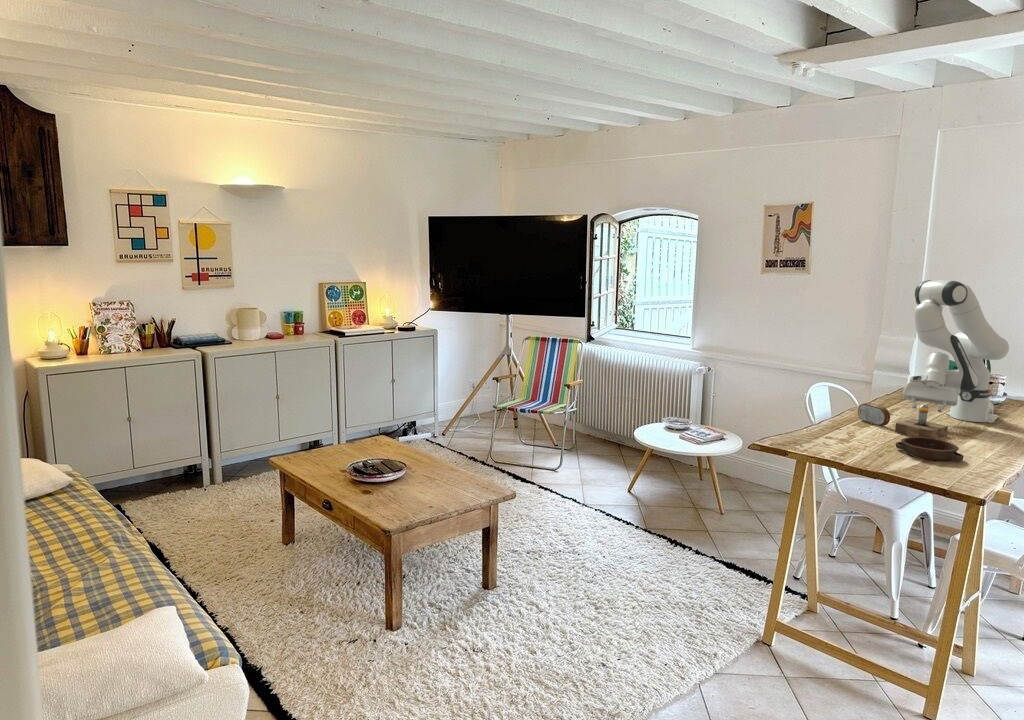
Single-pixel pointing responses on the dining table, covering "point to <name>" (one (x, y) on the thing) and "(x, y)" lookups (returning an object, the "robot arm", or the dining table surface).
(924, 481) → the dining table surface
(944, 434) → the brown square frame
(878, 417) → the tin
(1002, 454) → the dining table surface
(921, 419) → the grey upright cylinder
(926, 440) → the dish
